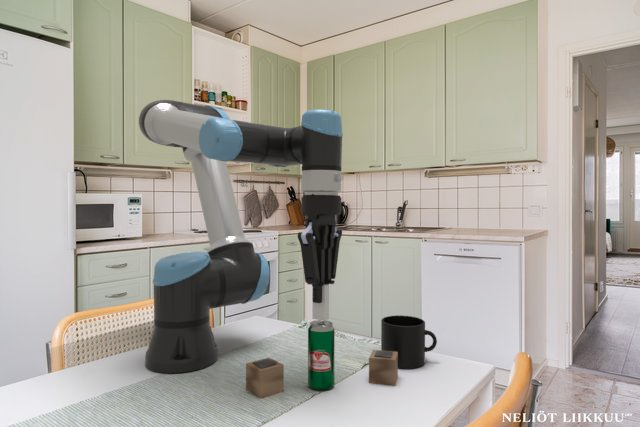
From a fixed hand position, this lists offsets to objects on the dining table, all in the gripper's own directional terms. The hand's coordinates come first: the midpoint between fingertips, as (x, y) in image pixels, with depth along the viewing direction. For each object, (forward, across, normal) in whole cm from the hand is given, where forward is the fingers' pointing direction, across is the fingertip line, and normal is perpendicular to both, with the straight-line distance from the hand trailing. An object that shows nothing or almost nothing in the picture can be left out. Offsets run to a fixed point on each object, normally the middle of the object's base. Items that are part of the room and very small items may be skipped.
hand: (320, 318), depth 83 cm
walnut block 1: (+13, -7, +8) cm, 17 cm away
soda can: (+13, 0, 0) cm, 13 cm away
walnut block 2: (+13, +9, -9) cm, 18 cm away
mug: (+13, +21, -10) cm, 27 cm away
